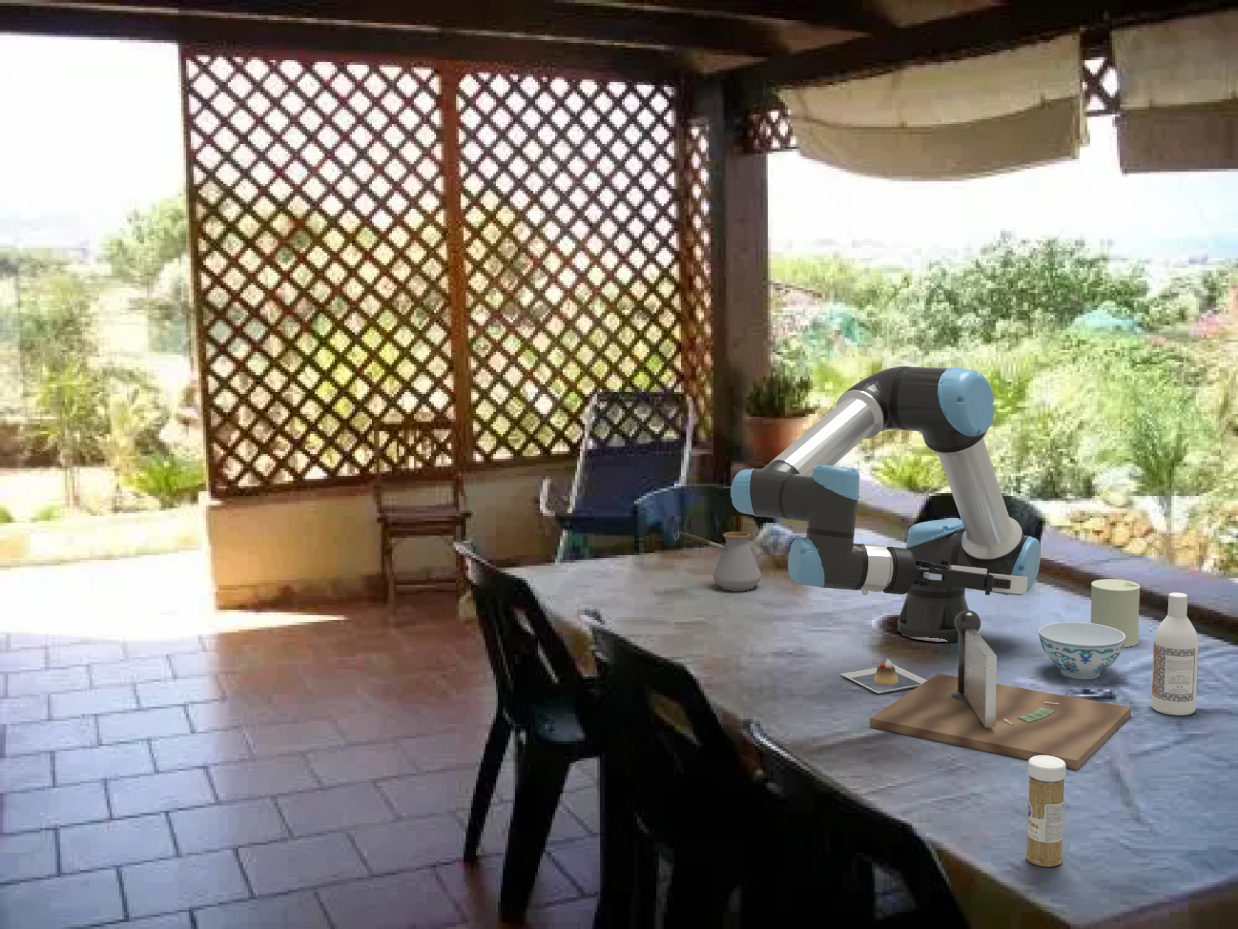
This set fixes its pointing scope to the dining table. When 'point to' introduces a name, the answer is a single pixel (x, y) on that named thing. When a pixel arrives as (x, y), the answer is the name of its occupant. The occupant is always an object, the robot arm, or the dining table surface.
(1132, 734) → the dining table surface
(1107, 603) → the can
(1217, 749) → the dining table surface
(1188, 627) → the bath foam
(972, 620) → the panel with knobbed post
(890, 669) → the dessert
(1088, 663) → the chinaware
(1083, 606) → the dining table surface
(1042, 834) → the sprinkles bottle
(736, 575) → the coffee pot
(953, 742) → the brown wooden cutting board
